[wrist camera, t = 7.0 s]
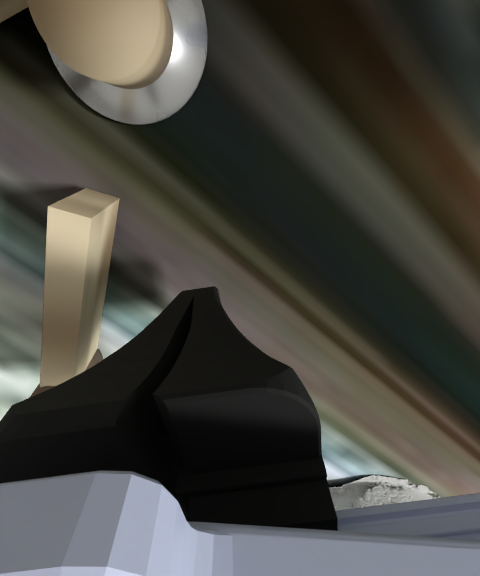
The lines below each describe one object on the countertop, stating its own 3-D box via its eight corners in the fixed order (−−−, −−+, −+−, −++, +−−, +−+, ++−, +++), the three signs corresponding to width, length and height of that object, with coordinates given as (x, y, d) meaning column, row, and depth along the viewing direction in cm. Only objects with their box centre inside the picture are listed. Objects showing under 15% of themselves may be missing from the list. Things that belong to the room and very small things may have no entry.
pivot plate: (133, -129, 8) (130, -138, 8) (237, 63, 10) (237, 62, 10) (8, 3, 9) (2, 0, 9) (124, 153, 11) (122, 154, 11)
